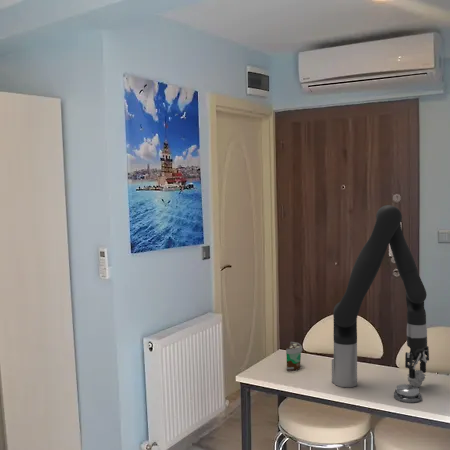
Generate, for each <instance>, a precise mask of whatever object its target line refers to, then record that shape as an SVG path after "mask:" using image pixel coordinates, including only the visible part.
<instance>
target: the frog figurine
mask: <svg viewBox="0 0 450 450" xmlns="http://www.w3.org/2000/svg"><path fill="white" fill-rule="evenodd" d="M425 379H426V373H423V372H422V371H420V369H415V378H414V379H412V378H410V377H409V373H408V374H407V382H409V385H413V386H416V387H418V388H420V387H421V386H422V385H423V382H424V381H425Z"/></svg>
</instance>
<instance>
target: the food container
mask: <svg viewBox="0 0 450 450" xmlns="http://www.w3.org/2000/svg"><path fill="white" fill-rule="evenodd" d="M285 349H286V351H285V352H286V353H285V356H286V371H287V372H291V371H293V372H295V371H297V370H298V371H299V370H300V369H301V358H302V352H303V346H302V345H301V343H299V342H295V341H290V343H289V346H288V348H285Z"/></svg>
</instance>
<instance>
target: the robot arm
mask: <svg viewBox="0 0 450 450" xmlns="http://www.w3.org/2000/svg"><path fill="white" fill-rule="evenodd" d="M375 217H376V218H375V219H376V221H375V224H374V226H373V228H372V229H373V230H372V232H371V234H370V236H369V238H368V240H366V241H367V242H366V243H365V244H364V246H363V247H362V249H361V250H360V252H359V254H358V256H357V257H356V260H355V263H354V265H353V267H352V270H351V273H350V276H349V279H348V284H347V287H346V291H345V292H344V294H343V296H342V298H341V300H340V301H339V302H337V303H336V304H335V305H334V308H333V313H332V314H333V358H332V359H331V383H333V384H334V385H335V386H337V387H340V388H354V387H356V386H358V328H357V327H358V325H357V324H358V316H359V312H360V309H361V306H362V303H363V301H364V298H365V297H366V295H367V293H368V292H369V289H370V288H371V286H372V284H373V283H374V280H375V278H376V276H377V274H378V273H379V270H380V268H381V265H382V262H383V260H384V257H385V255H386V252H387V249H388V246H390V250H391V253H392V256H393V260H394V262H395V266H396V269H397V271H398V274H399V277H400V280H402V281H403V282H402V283H403V286H404V288H405V289H404V290H405V301H406V308H407V311H406V346H407V347H408V348H409V352H405V354H404V355H405V359H404V360H405V362H404V363H405V366H404V368H406V369H408V374H409V377H410V378H412V379H414V378H415V371H416V366H417V365H418V364H419V370H420V371H422V372H423V373H424V374H426V373H427V364H428V362H429V361H430V351H429V345H428V328H427V314H426V309H425V300H427V294H428V293H427V289H426V288H425V285H424V283H423V281H422V278H421V276H420V275H419V274H420V273H419V271H418V267H417V264H416V261H415V259H414V256H413V254H412V251H411V250H410V248H409V245H408V243H407V241H406V239H405V236H404V233H403V229H402V221H403V220H402V218H403V215H402V212H401V210H400V209H399V208H398V207H396V206H394V205H392V204H387V205H383V206H381V207H380V208H379V209H378V210H377V212H376V215H375Z"/></svg>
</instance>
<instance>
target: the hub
mask: <svg viewBox="0 0 450 450" xmlns="http://www.w3.org/2000/svg"><path fill="white" fill-rule="evenodd" d="M393 398H394V399H395V400H396V401H398V402H401V403H407V404H415V403H420V402H421V401H423V395H422V394H421V393H420V387H416V386H413V385H410V384H407V383H404V384H398V385H396V388H395V390H394V392H393Z"/></svg>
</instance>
